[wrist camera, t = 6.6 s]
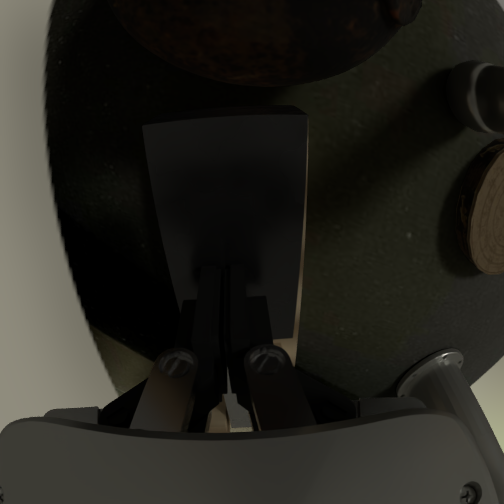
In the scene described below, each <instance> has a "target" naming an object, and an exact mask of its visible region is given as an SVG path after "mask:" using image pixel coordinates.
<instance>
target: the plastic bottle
mask: <svg viewBox="0 0 504 504" xmlns="http://www.w3.org/2000/svg"><path fill="white" fill-rule="evenodd" d="M446 95H447V100H448V103H449V106H450V108H451V110H452V112H453V113H454V115H455V117H456V118H457V119H458V121H460V122H461V123H462V124H463V125H465V126H467V127H469V128H471V129H472V130H474V131H477V132H483V133H502V134H504V67H500V66H495V65H493V64H490V63H487V62H482V61H476V60H470V61H466V62H462V63H459V64H458V65H456V66H455V67H454V68H453V69H452V71H451V73H450V75H449V77H448V79H447V84H446Z"/></svg>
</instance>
